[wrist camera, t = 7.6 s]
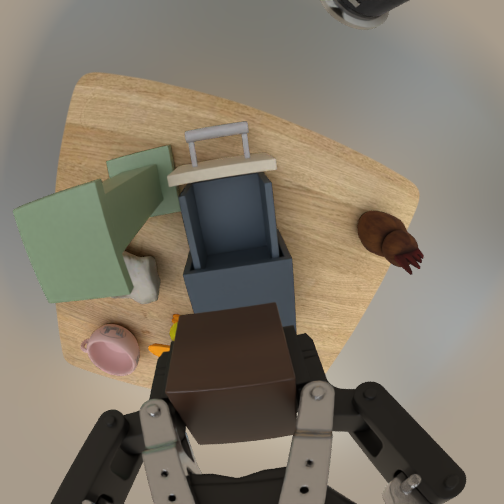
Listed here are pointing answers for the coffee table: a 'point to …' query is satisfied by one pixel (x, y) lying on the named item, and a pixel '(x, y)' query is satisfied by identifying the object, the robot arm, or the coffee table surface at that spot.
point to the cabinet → (244, 285)
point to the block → (233, 375)
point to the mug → (113, 349)
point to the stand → (96, 226)
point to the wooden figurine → (389, 239)
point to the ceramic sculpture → (142, 278)
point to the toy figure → (160, 348)
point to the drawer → (227, 203)
